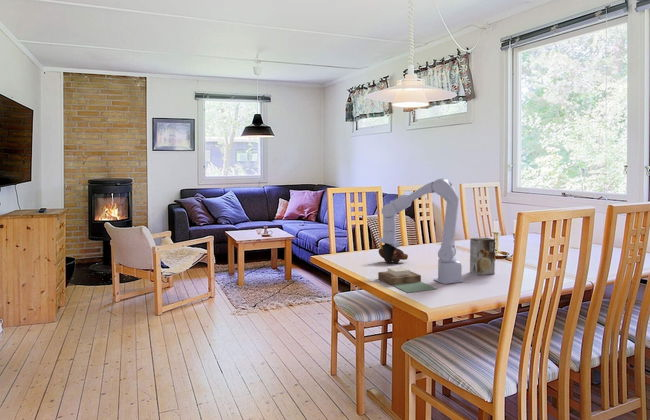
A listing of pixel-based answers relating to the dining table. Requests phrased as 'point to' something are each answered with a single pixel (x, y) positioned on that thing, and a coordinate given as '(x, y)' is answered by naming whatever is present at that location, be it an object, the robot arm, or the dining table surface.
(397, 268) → the coaster
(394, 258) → the decorative turtle
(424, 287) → the rubber mat
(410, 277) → the walnut step
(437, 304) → the dining table surface
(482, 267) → the coffee box
